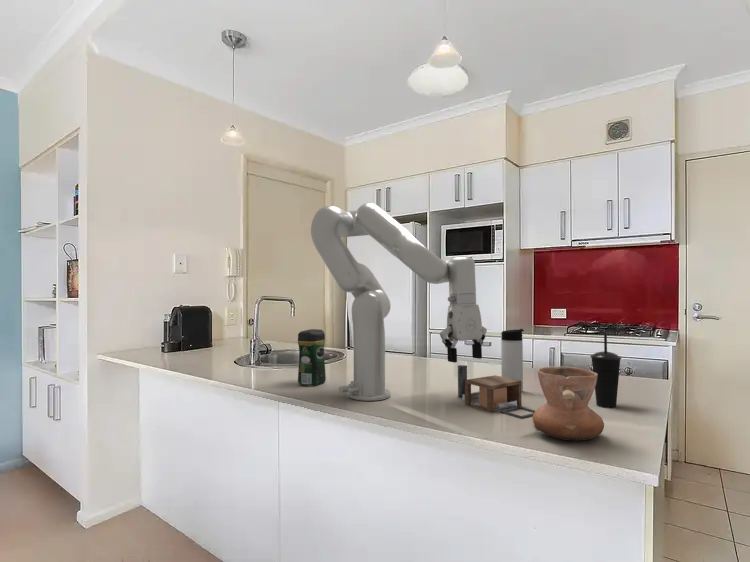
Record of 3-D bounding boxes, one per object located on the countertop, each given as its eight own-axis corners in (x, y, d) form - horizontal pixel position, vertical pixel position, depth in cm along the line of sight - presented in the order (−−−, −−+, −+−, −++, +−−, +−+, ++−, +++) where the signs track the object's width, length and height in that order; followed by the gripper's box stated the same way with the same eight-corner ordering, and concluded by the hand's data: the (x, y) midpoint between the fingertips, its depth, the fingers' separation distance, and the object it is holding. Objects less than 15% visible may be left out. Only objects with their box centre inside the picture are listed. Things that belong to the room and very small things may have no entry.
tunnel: (490, 418, 112) (490, 386, 112) (465, 410, 120) (464, 379, 120) (521, 411, 118) (521, 380, 119) (495, 403, 126) (495, 375, 126)
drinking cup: (619, 403, 126) (618, 332, 127) (624, 410, 119) (623, 334, 120) (589, 401, 129) (588, 331, 129) (592, 407, 122) (592, 333, 122)
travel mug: (525, 397, 134) (524, 330, 134) (502, 396, 135) (501, 329, 135) (522, 392, 140) (522, 328, 140) (500, 391, 141) (500, 327, 141)
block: (493, 408, 116) (493, 389, 116) (479, 404, 120) (479, 385, 120) (507, 406, 118) (506, 387, 118) (492, 402, 123) (492, 383, 123)
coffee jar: (310, 380, 159) (310, 327, 160) (329, 382, 156) (329, 328, 156) (293, 385, 151) (293, 330, 151) (313, 387, 147) (313, 331, 148)
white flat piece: (498, 416, 113) (498, 376, 113) (450, 401, 128) (450, 366, 128) (517, 412, 117) (516, 373, 117) (467, 398, 132) (467, 364, 132)
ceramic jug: (608, 452, 89) (608, 380, 89) (531, 443, 94) (530, 375, 94) (599, 426, 105) (598, 365, 106) (534, 420, 111) (533, 362, 111)
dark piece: (521, 424, 107) (521, 417, 107) (499, 418, 112) (499, 410, 112) (541, 419, 111) (541, 412, 111) (520, 413, 116) (520, 406, 116)
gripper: (449, 301, 121) (451, 365, 121) (493, 299, 131) (496, 358, 130) (431, 301, 128) (433, 361, 127) (474, 299, 137) (477, 355, 137)
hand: (465, 360), depth 129 cm, fingers open, 9 cm apart
